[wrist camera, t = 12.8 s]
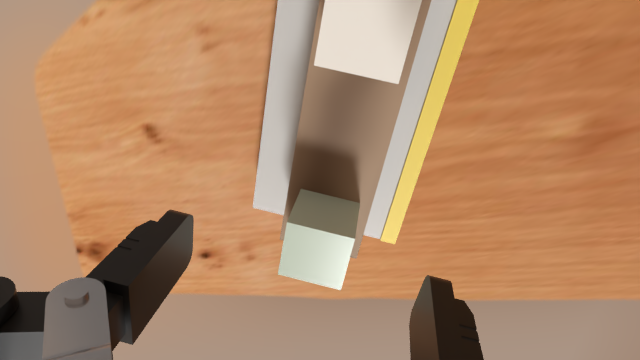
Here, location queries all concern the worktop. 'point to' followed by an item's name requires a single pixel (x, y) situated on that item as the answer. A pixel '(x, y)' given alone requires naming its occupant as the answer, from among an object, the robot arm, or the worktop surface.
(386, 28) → the white crate
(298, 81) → the block
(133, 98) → the worktop surface
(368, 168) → the pallet
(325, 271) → the block
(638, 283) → the worktop surface
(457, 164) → the worktop surface
